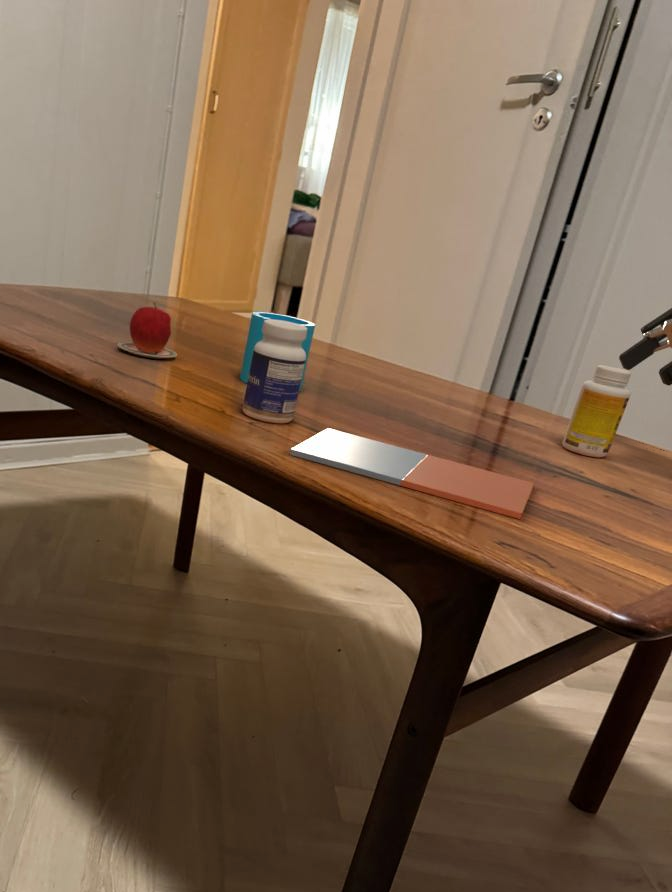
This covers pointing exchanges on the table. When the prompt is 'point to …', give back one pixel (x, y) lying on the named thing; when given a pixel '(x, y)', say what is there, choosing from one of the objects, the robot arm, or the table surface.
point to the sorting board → (417, 471)
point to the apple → (149, 333)
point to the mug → (257, 335)
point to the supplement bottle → (598, 412)
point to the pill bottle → (276, 372)
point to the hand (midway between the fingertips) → (642, 371)
